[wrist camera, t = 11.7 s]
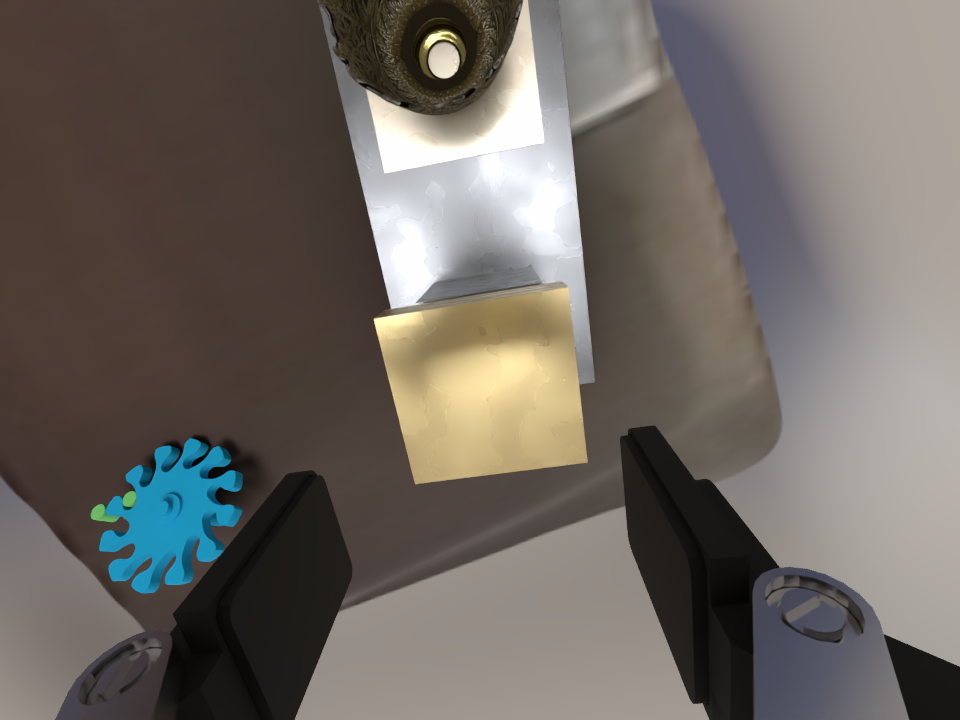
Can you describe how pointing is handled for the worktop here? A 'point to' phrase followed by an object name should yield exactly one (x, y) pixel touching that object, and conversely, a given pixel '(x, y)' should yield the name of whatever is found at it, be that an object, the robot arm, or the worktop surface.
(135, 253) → the worktop surface
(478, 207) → the base
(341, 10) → the dark brown rounded piece
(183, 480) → the gear
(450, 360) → the plate
